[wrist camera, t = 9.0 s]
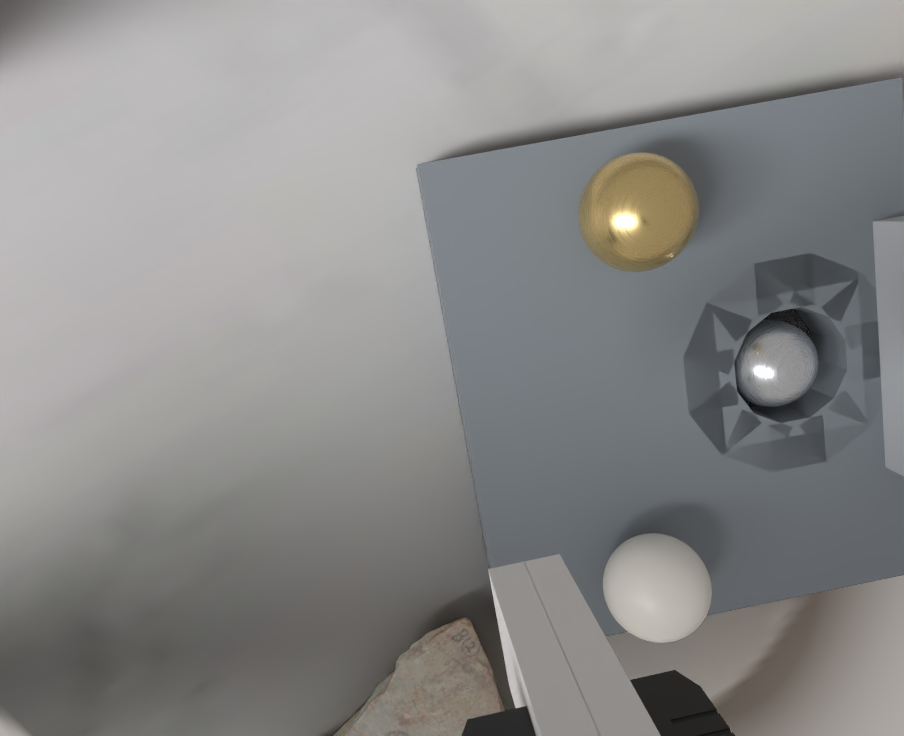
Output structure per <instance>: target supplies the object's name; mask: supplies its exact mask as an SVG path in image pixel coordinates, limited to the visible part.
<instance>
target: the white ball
mask: <svg viewBox="0 0 904 736" xmlns="http://www.w3.org/2000/svg"><path fill="white" fill-rule="evenodd" d="M603 592H604V597H605V601H606V603H607V606H608V608H609V610H610V612H611V614H612V615H613V617H614V618H615V620H616V621H617V622H618V623H619V624H620V625H621V626H622V627H623V628H624V629H625V630H626V631H628V632H629V633H631V634H632V635H634V636H636V637H638V638H640V639H643V640H646V641H651V642H657V643H666V642H673V641H677V640H680V639H682V638H684V637H686V636H688V635H690V634H691V633H692V632H694V631H695V630H696V629H697V628H698V627H699V626H700V625H701V623H702V622H703V621H704V619H705V617H706V615H707V613H708V610H709V608H710V604H711V596H712V587H711V581H710V576H709V574H708V571H707V569H706V566H705V565H704V563H703V561H702V560H701V558H700V557H699V556H698V554H697V553H696V552H695V551H694V550H693V549H692V548H691V547H689V546H688V545H687V544H686V543H684V542H682V541H680V540H679V539H677V538H674V537H672V536H668V535H664V534H659V533H648V534H641V535H638V536H635V537H632V538H630V539H628V540H626V541H625V542H623V543H622V544H621V545H620V546H619V547H617V549H616V550H615V551H614V552H613V553H612V555H611V556H610V558H609V560H608V562H607V564H606V567H605V570H604V575H603Z"/></svg>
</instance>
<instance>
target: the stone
mask: <svg viewBox="0 0 904 736" xmlns="http://www.w3.org/2000/svg"><path fill="white" fill-rule="evenodd" d="M496 686H497V683H496V681H495V678H494V673H493V670H492V667H491V665H490V663H489V661H488V658H487V656H486V654H485V651H484V649H483V646H482V644H481V642H480V640H479V638H478V636H477V634H476V631H475V629H474V627H473V625H472V623H471V621H470V620H469V618H468V617H465V618H460V619H457V620H456V621H454V622H452V623H449V624H446V625H444V626H442V627H440V628H438V629H436V630H433V631H430V632H429V633H427V634H425V635H424V636H423V637H422V638H421V639H420V640H419V641H416V642H414V643H412V645H411V646H410V648H409V649H408V650H407V651H405V652H404V653H402V654H400V656H399V658H398V659H397V661H396V668H395V670H394V672H392V673H391V674H389V675H388V676H387V677H386V679H385V680H383V681H382V682H381V683H379V684H378V685H376V688H375V690H374V693H373V694H372V695H371V697H370V698H369V699H368V700H367V702H366V703H365V705H364V706H363V707H362V708H360V709H359V710H357V711H356V712H355V714H354V715H353V716H352V717H351V718H350V719H349V720H348V721H347V722H346V723H345V724H344V725H343V726H342V727H341V728H340V729H339V730H338V731H337V732H336V733H335V734H334V735H332V736H462V733H463V730H464V727H465V725H466V722H467V719H471V718H475V717H480V716H484V715H489V714H493V713H498V712H502V711H505V709H504V707H503V704H502V701H501V698H500V696H499V693H498V690H497V687H496Z"/></svg>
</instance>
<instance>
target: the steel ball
mask: <svg viewBox="0 0 904 736" xmlns="http://www.w3.org/2000/svg"><path fill="white" fill-rule="evenodd" d="M734 365H735V375H736V386H737V392H738V393H739V395H740V396H741V397H742V398H743V399H745V400H746V401H748V402H751V403H753V404H756V405H760V406H766V407H776V406H782V405H786V404H789V403H791V402H793V401H795V400H797V399H799V398H800V397H801V396H803V395H804V394H805V393H806V392H807V391H808V390H809V389H810V387H811V386H812V384H813V383H814V380H815V378H816V375H817V372H818V365H819V364H818V354H817V351H816V348H815V346H814V344H813V342H812V340H811V339H810V338H809V336H808V335H807V334H806V333H805V332H804V331H802V330H801V329H800V328H798V327H797V326H795V325H793V324H791V323H788V322H785V321H780V320H762V321H761V322H760V323H758V324H757V325H756V326H755V327H753V328H752V329H751V330H750V331H749V332H747V334H746V336H745V338H744V340H743V343H742V345H741V347H740V350H739V352H738V354H737V357H736V359H735V361H734Z"/></svg>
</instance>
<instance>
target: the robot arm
mask: <svg viewBox="0 0 904 736" xmlns="http://www.w3.org/2000/svg"><path fill="white" fill-rule="evenodd" d="M488 572H489V577H490V583H491V588H492V594H493V599H494V605H495V610H496V616H497V621H498V627H499V632H500V638H501V643H502V649H503V654H504V660H505V666H506V671H507V677H508V682H509V687H510V691H511V694H512V698H513V701H514V705H515V709H511V710H506V711H502V712H498V713H493V714H489V715H484V716H480V717H475V718H471V719H467V722H466V725H465V727H464V730H463V733H462V736H735V735H734V734H733V733H731V732H730V729H729V727H728V725H727V724H726V722H725V721H724V719H723V718H722V717H721V716H720V714H718V713H717V710H716V708H715V707H714V705H713V704H712V702H711V701H710V700H709V698H708V697H707V695H706V694H705V692H704V691H703V690H702V688H701V687H700V686H699V685H697V684H696V683H694V682H692V681H691V680H689V679H688V678H686V677H685V676H683V675H682V674H680V673H679V672H677V671H675V670H673V671H669V672H664V673H660V674H655V675H651V676H646V677H642V678H638V679H633V680H629V678H628V676H627V674H626V672H625V671H624V669H623V667H622V665H621V664H620V662H619V660H618V658H617V656H616V655H615V653H614V651H613V649H612V647H611V646H610V644H609V642H608V640H607V638H606V637H605V635H604V633H603V631H602V629H601V628H600V626H599V624H598V622H597V620H596V619H595V617H594V615H593V613H592V612H591V610H590V608H589V606H588V604H587V603H586V601H585V599H584V597H583V595H582V594H581V592H580V590H579V588H578V586H577V585H576V583H575V581H574V579H573V577H572V576H571V574H570V572H569V570H568V568H567V567H566V565H565V563H564V561H563V560H562V558H561V556H560V554H557V555H552V556H548V557H543V558H538V559H534V560H529V561H524V562H520V563H515V564H510V565H506V566H501V567H496V568H491V569H488Z"/></svg>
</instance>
